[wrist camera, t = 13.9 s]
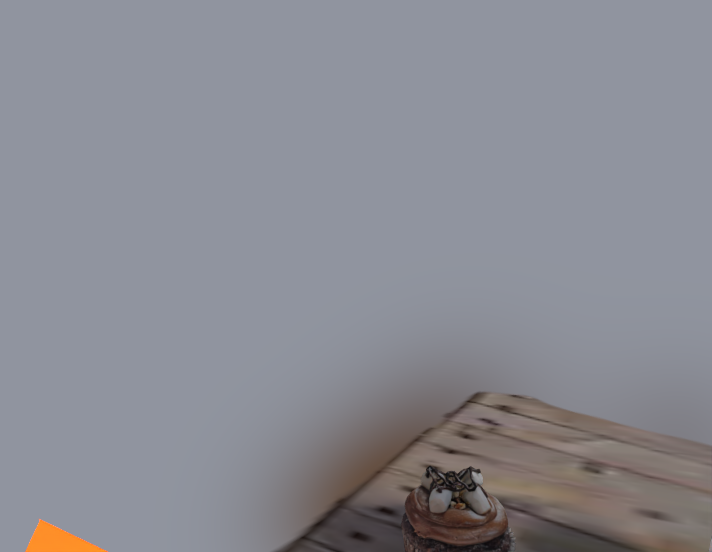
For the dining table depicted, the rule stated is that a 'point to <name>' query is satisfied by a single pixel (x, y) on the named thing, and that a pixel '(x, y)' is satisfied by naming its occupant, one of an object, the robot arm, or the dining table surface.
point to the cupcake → (455, 515)
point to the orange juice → (57, 541)
